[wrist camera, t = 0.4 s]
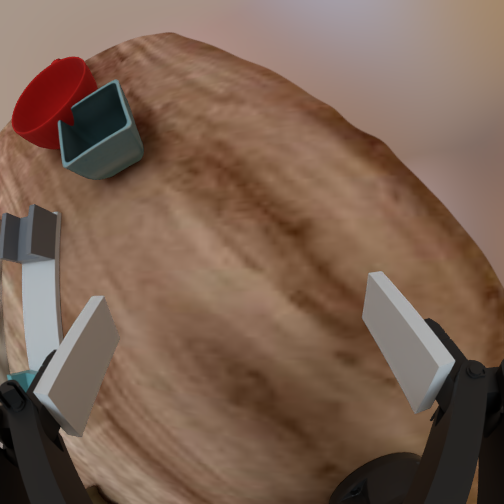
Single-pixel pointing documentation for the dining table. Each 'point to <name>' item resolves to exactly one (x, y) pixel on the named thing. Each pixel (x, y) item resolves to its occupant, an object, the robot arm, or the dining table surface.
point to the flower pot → (100, 135)
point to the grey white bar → (2, 337)
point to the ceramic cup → (52, 101)
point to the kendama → (95, 495)
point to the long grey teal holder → (36, 282)
